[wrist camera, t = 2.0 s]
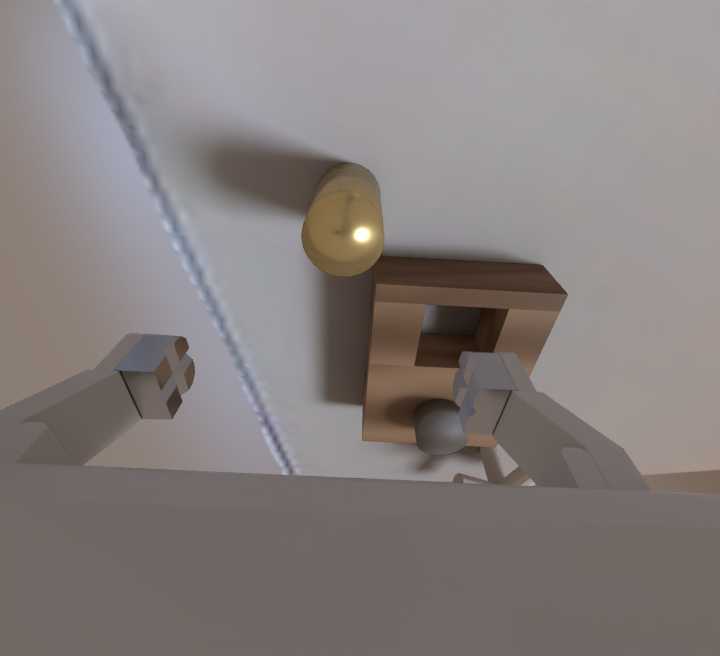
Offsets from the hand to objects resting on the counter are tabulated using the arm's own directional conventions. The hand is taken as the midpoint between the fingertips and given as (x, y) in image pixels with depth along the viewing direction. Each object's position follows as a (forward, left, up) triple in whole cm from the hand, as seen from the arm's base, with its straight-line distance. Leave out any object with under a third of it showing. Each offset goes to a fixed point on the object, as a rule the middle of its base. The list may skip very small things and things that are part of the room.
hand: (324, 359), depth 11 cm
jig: (+12, +8, -15) cm, 21 cm away
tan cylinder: (0, 0, -15) cm, 15 cm away
